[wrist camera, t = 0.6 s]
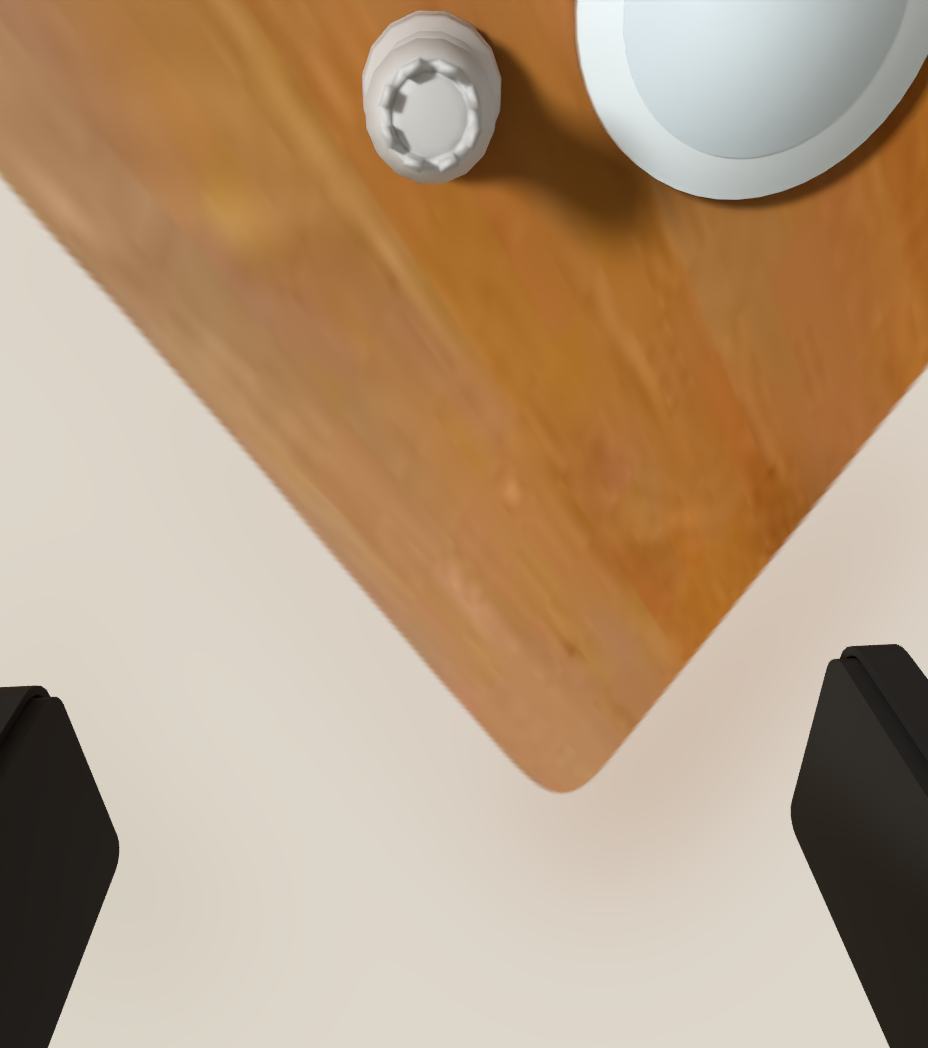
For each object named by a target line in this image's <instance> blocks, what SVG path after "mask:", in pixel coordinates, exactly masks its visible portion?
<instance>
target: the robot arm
mask: <svg viewBox="0 0 928 1048" xmlns="http://www.w3.org/2000/svg"><path fill="white" fill-rule="evenodd" d="M791 820H792V825H793V829H794V832H795V835H796V837H797V840H798V842H799V844H800V846H801V849H802V851H803V853H804V855H805V858H806V860H807V862H808V864H809V867H810V869H811V871H812V873H813V876H814V878H815V880H816V883H817V884H818V887H819V889H820V891H821V894H822V896H823V898H824V900H825V903H826V905H827V907H828V910H829V912H830V914H831V916H832V919H833V921H834V923H835V925H836V928H837V930H838V932H839V934H840V937H841V939H842V941H843V943H844V946H845V948H846V950H847V952H848V955H849V957H850V959H851V961H852V964H853V965H854V968H855V970H856V972H857V975H858V977H859V979H860V981H861V983H862V986H863V988H864V991H865V993H866V995H867V997H868V1000H869V1002H870V1004H871V1006H872V1009H873V1011H874V1013H875V1015H876V1018H877V1020H878V1022H879V1024H880V1027H881V1029H882V1031H883V1033H884V1036H885V1038H886V1040H887V1042H888V1044H889V1047H890V1048H928V679H927V678H926V676H925V675H924V674H923V672H922V671H921V670H920V668H919V667H918V666H917V664H916V663H915V662H914V661H913V659H912V658H911V657H910V655H909V654H908V652H907V651H905V650H904V648H903V647H901V646H899V645H897V644H888V645H868V646H851V647H847V648H846V649H845V650H844V651H843V652H842V654H841V657H840V659H833V660H831V661H830V662H829V664H828V666H827V669H826V673H825V677H824V681H823V685H822V688H821V692H820V696H819V700H818V704H817V708H816V712H815V715H814V719H813V723H812V727H811V730H810V734H809V738H808V742H807V746H806V750H805V753H804V757H803V761H802V765H801V769H800V772H799V776H798V780H797V784H796V788H795V791H794V795H793V799H792V804H791ZM118 858H119V841H118V837H117V834H116V832H115V829H114V827H113V824H112V822H111V819H110V817H109V814H108V812H107V810H106V807H105V805H104V802H103V800H102V797H101V795H100V793H99V790H98V788H97V785H96V783H95V780H94V778H93V775H92V773H91V770H90V768H89V765H88V763H87V761H86V758H85V756H84V753H83V751H82V749H81V746H80V743H79V741H78V738H77V736H76V734H75V731H74V729H73V726H72V724H71V721H70V719H69V717H68V714H67V712H66V709H65V707H64V704H63V703H62V701H61V700H60V699H59V698H58V697H50V695H49V694H48V692H47V690H46V689H45V688H43V687H42V686H19V687H0V1048H48V1046H49V1043H50V1040H51V1038H52V1035H53V1033H54V1030H55V1027H56V1025H57V1022H58V1020H59V1017H60V1014H61V1012H62V1009H63V1006H64V1004H65V1001H66V999H67V996H68V993H69V990H70V988H71V985H72V983H73V980H74V978H75V975H76V972H77V970H78V967H79V965H80V962H81V959H82V957H83V954H84V951H85V949H86V946H87V944H88V941H89V938H90V936H91V933H92V931H93V928H94V925H95V923H96V920H97V917H98V914H99V912H100V909H101V907H102V904H103V902H104V899H105V896H106V894H107V891H108V888H109V886H110V883H111V881H112V878H113V875H114V873H115V870H116V867H117V864H118Z"/></svg>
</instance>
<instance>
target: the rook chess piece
mask: <svg viewBox="0 0 928 1048" xmlns="http://www.w3.org/2000/svg"><path fill="white" fill-rule="evenodd" d="M362 88H363V109H364V112H365V114H366V128H367V130H368V133H369V135H370V137H371V140H372V142H373V144H374V147H375V149H376V152H377V154H378V155H379V156H380V157H381V158H382V159H383V160H384V161H385V162H386V163H387V164H388V165H389V166H390V167H391V168H392V169H393V171H394V172H395V173H397V174H399V175H402V176H404V177H406V178H408V179H411V180H413V181H415V182H417V183H446V182H448V181H450V180H453V179H455V178H457V177H460V176H462V175H464V174H467V172H468V171H469V170H470V169H471V168H472V167H473V166H474V165H475V164H476V163H477V162H478V161H479V160H480V159H481V158H482V157H483V156H484V155H485V152H486V150H487V147H488V145H489V142H490V140H491V137H492V135H493V132H494V130H495V122H496V120H497V117H498V115H499V113H500V104H501V75H500V72H499V69H498V66H497V63H496V60H495V57H494V54H493V51H492V48H491V47H490V46H489V45H488V43H487V42H486V41H485V40H484V38H483V37H482V36H481V35H480V34H479V32H478V31H477V30H476V29H475V28H474V26H473V25H472V24H470V23H468V22H466V21H464V20H462V19H460V18H458V17H456V16H454V15H452V14H450V13H448V12H446V11H416V12H413V13H411V14H409V15H407V16H405V17H403V18H401V19H399V20H397V21H395V22H393V23H391V24H390V25H389V26H388V27H387V28H386V30H385V31H384V32H383V33H382V34H381V36H380V37H379V38H378V39H377V40H376V42H375V43H374V44H373V45H372V47H371V49H370V53H369V56H368V59H367V62H366V65H365V68H364V72H363V75H362Z"/></svg>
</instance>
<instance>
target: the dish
mask: <svg viewBox="0 0 928 1048" xmlns="http://www.w3.org/2000/svg"><path fill="white" fill-rule="evenodd" d="M574 41H575V48H576V55H577V62H578V67H579V71H580V75H581V78H582V82H583V86H584V89H585V92H586V94H587V97H588V99H589V102H590V104H591V106H592V109H593V111H594V113H595V115H596V116H597V118H598V120H599V122H600V123H601V125H602V127H603V129H604V130H605V132H606V133H607V134H608V136H609V137H610V138H611V139H612V141H613V142H614V143H615V145H616V146H617V147H618V148H619V149H620V150H621V151H622V152H623V153H624V154H625V155H626V156H627V157H628V158H629V159H630V160H631V161H632V162H633V163H635V164H636V165H638V166H639V167H640V168H642V169H643V170H644V171H646V172H647V173H649V174H650V175H651V176H653V177H654V178H656V179H657V180H659V181H661V182H663V183H665V184H667V185H669V186H671V187H673V188H675V189H677V190H680V191H683V192H686V193H689V194H692V195H695V196H701V197H706V198H712V199H730V200H739V199H748V198H757V197H762V196H766V195H770V194H774V193H778V192H782V191H784V190H787V189H790V188H792V187H795V186H797V185H800V184H802V183H804V182H806V181H808V180H810V179H812V178H814V177H816V176H818V175H820V174H822V173H823V172H825V171H827V170H828V169H830V168H831V167H833V166H834V165H835V164H837V163H838V162H840V161H841V160H843V159H844V158H846V157H847V156H848V155H849V154H850V153H852V152H853V151H854V150H855V149H856V148H857V147H859V146H860V145H861V144H862V143H863V142H865V141H866V140H867V139H868V138H869V136H870V135H871V134H872V133H873V132H874V131H875V130H876V129H877V128H878V127H879V126H880V125H881V124H882V123H883V122H884V121H885V120H886V118H887V117H888V116H889V114H890V113H891V112H892V111H893V109H894V108H895V107H896V106H897V104H898V103H899V102H900V101H901V99H902V98H903V96H904V94H905V93H906V91H907V90H908V88H909V87H910V85H911V84H912V82H913V81H914V79H915V77H916V76H917V74H918V72H919V70H920V68H921V66H922V64H923V62H924V60H925V58H926V57H927V55H928V0H574Z"/></svg>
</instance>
